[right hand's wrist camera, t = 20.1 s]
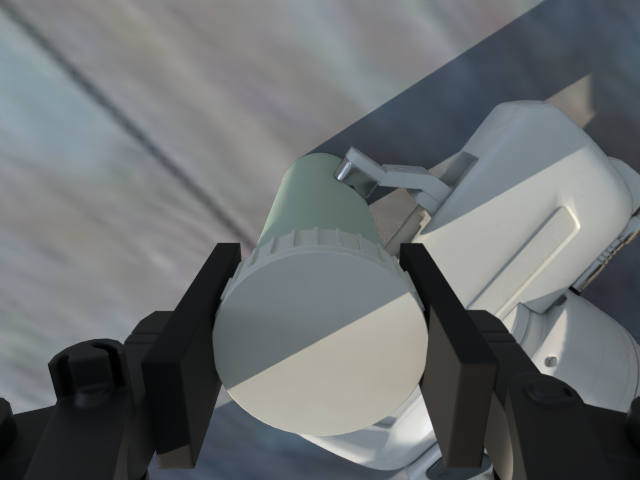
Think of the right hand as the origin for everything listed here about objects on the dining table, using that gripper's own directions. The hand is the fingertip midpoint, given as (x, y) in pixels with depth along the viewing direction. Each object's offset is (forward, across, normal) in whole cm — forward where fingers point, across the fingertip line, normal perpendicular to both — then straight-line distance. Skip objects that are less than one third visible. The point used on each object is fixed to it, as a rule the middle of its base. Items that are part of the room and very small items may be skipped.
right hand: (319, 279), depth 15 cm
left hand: (+6, -1, 0) cm, 6 cm away
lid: (-4, 0, 0) cm, 4 cm away
